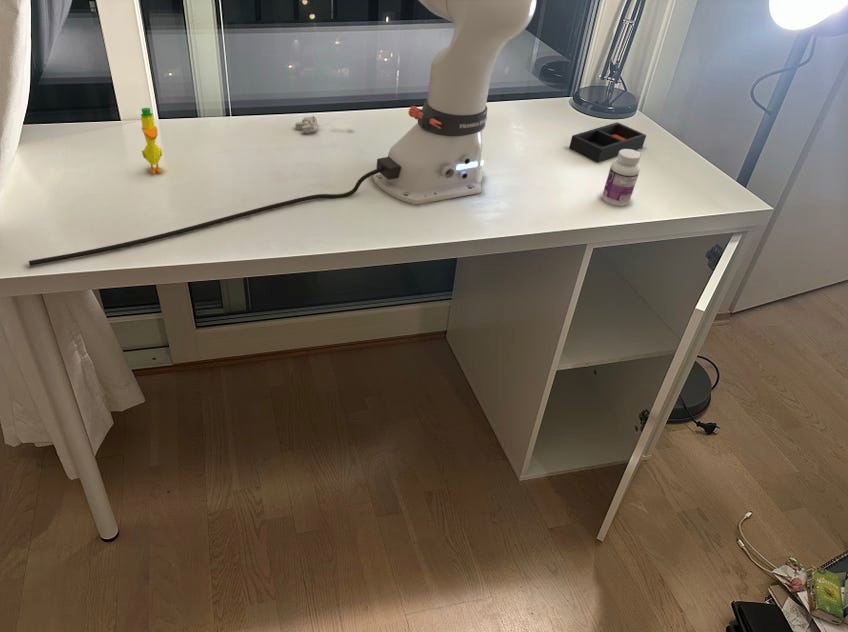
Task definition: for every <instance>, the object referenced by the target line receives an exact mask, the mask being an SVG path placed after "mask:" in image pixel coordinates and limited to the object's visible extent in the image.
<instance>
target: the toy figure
mask: <svg viewBox="0 0 848 632" xmlns="http://www.w3.org/2000/svg"><path fill="white" fill-rule="evenodd" d="M140 110H141V114H140V119H141V131H142V133H143V136H144V139H145V142H146V145H145V146H144V149H143V150H141V154H142V157H143V158H144V159H145V160H146V161H147V162H148V164H150V174H151V175H156V173H157V174H159V175H160V174H162V169H161V167H160V166H159V162H160V161H161V158H162V156H163V151H162V148H161V147H160V146H158V145H157V143H156V139H157V137H158V133H159V132H158V131H159V130H158V128H157V126H156V125H155V121H154V115H153V114H154V113H153V112H151V108H150V107H143V108H141V109H140ZM154 165H155V167H154Z"/></svg>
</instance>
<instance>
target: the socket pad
mask: <svg viewBox="0 0 848 632" xmlns="http://www.w3.org/2000/svg"><path fill="white" fill-rule="evenodd" d="M646 138H647V134H646V133H643V132H641V131H638V130H636V129H633V128H632V127H630V126H627V125H625V124H622V123H621V122H618V121H616V122H613V123H609V124H607V125H603V126H599V127H596V128H593V129H590V130H587V131H583V132H580V133H576V134H573V135H572V136H571V139H570V143H569V147H568V150H571V151H573V152H575V153H576V154H579V155H581V156H582V157H583V156H584V157H585V158H587V159H589V160H591V161H593V162H595V163H597V164H599V163H601V162H605V161H607V160H610V159H613V158H617V156H618V153H619V151H620V150H622V149H631V150H635V151H637V150H641V149H643V147H644V144H645V141H646Z"/></svg>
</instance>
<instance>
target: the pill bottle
mask: <svg viewBox="0 0 848 632" xmlns="http://www.w3.org/2000/svg"><path fill="white" fill-rule="evenodd" d="M641 156H642V155H641V153H640V152H639V151H637V150H631V149H622V150H620V151H619V153H618V156H616V159H615V160H614V161H612V163H611V165H610V167H609V171H608V174H607V178H606V180H605V185H604V188H603V190H602V195H601V196H602V200H604V202H605V203H607V204H609V205H612V206H618V207H620V206H626V205H628V204H629V203H630V202H631V199H632V196H633V192H634V190H635V186H636V183H637V182H638V181H637V180H638V177H639V174H640V171H641V167H640V165H639V163H640V160H641Z"/></svg>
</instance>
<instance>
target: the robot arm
mask: <svg viewBox="0 0 848 632" xmlns="http://www.w3.org/2000/svg"><path fill="white" fill-rule="evenodd" d="M537 1H538V0H418V2H419V3H420V4H421V5H423V6H424V7H425V8H426V9H427V10H428V11H429V12H430V13H432V14H433V15H435V16H436V17H439V18H442V19H444V20H446V21H448V22H451V23H453V25H454V30H453V35H452V37H451V40H450V43H449V45H448V46H447V47H445V48H443V49H441V50H440V51H438V52H437V53H436V54H435V55H434V57H433V59H432V61H431V64H430V72H429V73H430V74H429V82H428V91H427V98H426V99H425V101H424V103H423V105H422V108H419V107H418V106H416V105H410V107H409V109H408V111H407V112H408V115H409V117H410V118H414V120H417V123H415V125H413V126H412V127H411V128H410V130H408V131H407V132H406V133H405V134H404V135H403V136H402V137H401V138H400V139H399V140H398V141H397V142H396V143H395V144H393V145H392V146H391V147H390V148H389V151H388V154H387V156H385V157H380V158H379V157H378V158H377V159H376V168H375V169H373V170H371V171H369V172H367V173H365V174H363V175H362V176H361V177H360V178H358V179H357V182H355V185H354V187H353V188H352V189H351V190H349V191H346V192H344V193H338V194H334V193H330V194H329V193H319V194H312V195H311V194H310V195H307V196H302V197H298V198H293V199H289V200H285V201H281V202H277V203H273V204H269V205H265V206H261V207H258V208H253V209H250V210H246V211H242V212H238V213H235V214H232V215H228V216H224V217H220V218H216V219H212V220H209V221H205V222H202V223H198V224H194V225H190V226H187V227H183V228H180V229H175V230H172V231H167V232H163V233H159V234H155V235H151V236H147V237H142V238H138V239H134V240H129V241H125V242H120V243H116V244H111V245H106V246H101V247H97V248H92V249H87V250H82V251H77V252H70V253H66V254H65V253H64V254H60V255H54V256H49V257H43V258H37V259H32V260H28V264H29V267H31V266H37V265H41V264H49V263H54V262H59V261H65V260H70V259H75V258H81V257H86V256H90V255H96V254H101V253H107V252H110V251H115V250H121V249H125V248H128V247H129V248H130V247H134V246H138V245H142V244H146V243H150V242H154V241H158V240H162V239H166V238H171V237H174V236H177V235H181V234H185V233H190V232H194V231H196V230H201V229H203V228H208V227H212V226H214V225H218V224H222V223H226V222H229V221H233V220H236V219H240V218H243V217H248V216H252V215H255V214H258V213H262V212H266V211H270V210H275V209H278V208H283V207H287V206H290V205H295V204H298V203H303V202H308V201H311V200H318V199H319V200H320V199H342V198H348V197H351V196H352V195H354V194H355V193H357V192H358V189H359V188H360V187H361V185H362V183H363V182H365V180H367V179H369V178H370V177H372V180H373V182H374V184H375V185H376V186H377V187H378V188H380V189H381V190H383V191H384V192H385V193H387V194H389V195H390V196H392V197H393V198H396V199H398V200H400V201H402V202H405V203H408V204H413V205H421V204H426V203H432V202H439V201H443V200H448V199H454V198H460V197H465V196H471V195H476V194H480V193H481V192H482V181H483V172H482V166H484V163H485V160H483V159H482V153H483V149H482V148H483V130H484V129H485V127H486V124H487V123H486V122H487V119H488V116H487V115H488V106H487V100H488V96H489V91H490V90H489V89H490V85H491V81H492V76H493V71H494V68H495V64H496V62H497V60H498V58H499V56H500V54H501V52H502V51H503V49H504V47H505V46H506V45H507V43H509V42H510V41H511V40H512V39H514V38H516V37H517V36H519V35H520V34H522V32H523V31H524V30H525V29H526V28H527V27H528V26H529V25H530V23H531V21H532V19H533V18H534V15H535V11H536V8H537Z"/></svg>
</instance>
